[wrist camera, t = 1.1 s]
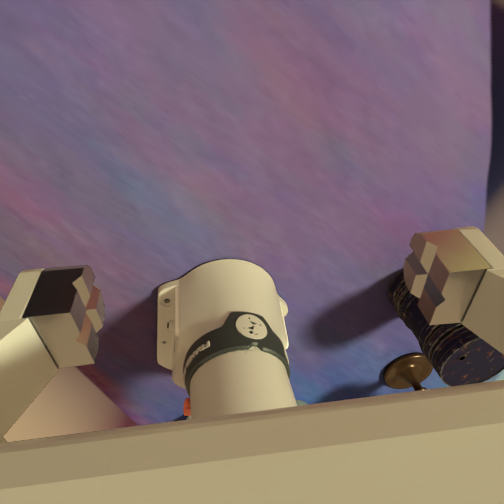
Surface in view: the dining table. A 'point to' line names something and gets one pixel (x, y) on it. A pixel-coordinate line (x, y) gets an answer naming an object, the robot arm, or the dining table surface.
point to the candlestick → (408, 371)
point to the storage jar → (446, 342)
